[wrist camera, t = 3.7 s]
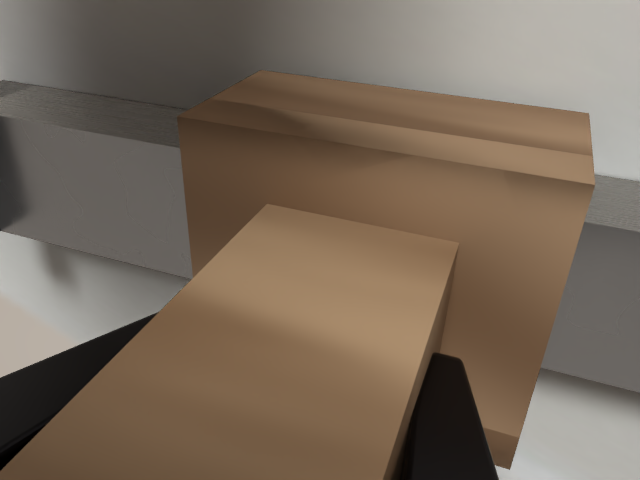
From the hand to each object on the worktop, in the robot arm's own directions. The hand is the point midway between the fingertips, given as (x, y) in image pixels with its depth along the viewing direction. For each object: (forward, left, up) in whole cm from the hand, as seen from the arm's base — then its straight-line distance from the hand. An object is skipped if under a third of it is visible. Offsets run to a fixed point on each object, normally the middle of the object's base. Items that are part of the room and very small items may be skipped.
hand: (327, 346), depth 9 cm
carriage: (0, 0, -5) cm, 5 cm away
